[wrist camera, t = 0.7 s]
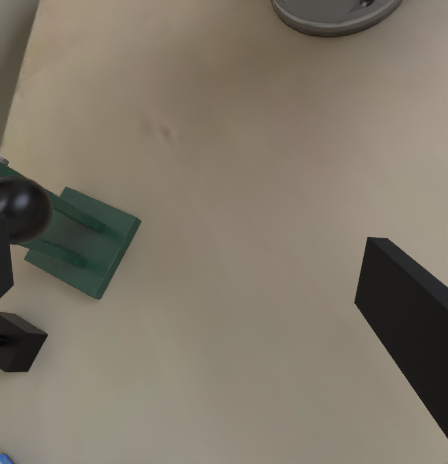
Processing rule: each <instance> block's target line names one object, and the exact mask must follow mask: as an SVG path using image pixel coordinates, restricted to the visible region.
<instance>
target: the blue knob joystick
mask: <svg viewBox="0 0 448 464" xmlns="http://www.w3.org/2000/svg"><path fill="white" fill-rule="evenodd" d="M46 337H47V334H46V333H44V332H43V331H41V330H39V329H38V328H36V327H35V326H33V325H31V324H30V323H28V322H27V321H25V320H23V319H22V318H20V317H19V316H17V315H16V314H12V313H5V312H0V369H1V370H3V371H4V372H28V370H29V368H30V367H31V365H32V363H33V361H34V359H35V357H36V356H37V354H38V352H39V350H40V348H41V346H42V345H43V343H44V341H45V339H46Z"/></svg>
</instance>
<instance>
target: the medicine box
mask: <svg viewBox="0 0 448 464" xmlns="http://www.w3.org/2000/svg"><path fill="white" fill-rule="evenodd" d="M0 464H12V462H11V461H10V460H9V458H8V457H7V455H6V454H1V455H0Z"/></svg>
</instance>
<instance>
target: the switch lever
mask: <svg viewBox="0 0 448 464" xmlns="http://www.w3.org/2000/svg"><path fill="white" fill-rule="evenodd" d="M0 215H7V225H8V234H9V244H12V245H19V244H25V243H28V242H31V241H33V240H35V239H37V238H38V237H40V236H41V235H42V234H43V233H44V232H45V231H46V230H47V228H48V227H49V225H50V223H51V220H52V215H53V207H52V202H51V199H50V197H49V195H48V194H47V192H46V191H45V190H44V189H43V188H42V186H40V185H39V184H38V183H36V182H35V181H33V180H31V179H28V178H25V177H21V176H5V177H1V178H0Z"/></svg>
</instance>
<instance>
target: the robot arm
mask: <svg viewBox="0 0 448 464" xmlns="http://www.w3.org/2000/svg"><path fill="white" fill-rule="evenodd" d="M271 1H272V4H273V7H274V9H275V11H276V13H277V15H278V16H279V17H280V18H281V19H282V20H283V21H284V22H285V23H286V24H287V25H289V26H290V27H292V28H294V29H296V30H298V31H300V32H303V33H307V34H311V35H317V36H339V35H346V34H350V33H354V32H357V31H360V30H363V29H366V28H368V27H370V26H372V25H374V24H376V23H378V22H379V21H381V20H383V19H384V18H385V17H387V16H388V15H389V14H391V13H392V12H393V11H394V10H395V9H396V8H397V7H398V6H399V5H400V4H401V2H402V1H403V0H271ZM13 285H14V282H13V272H12V263H11V253H10V244H9V234H8V225H7V215H0V298H1V297H2V296H3V295H4V294H5V293H6V292H7V291H8V290H9V289H10V288H11V287H12V286H13ZM354 303H355V304H356V306H357V307H358V309H359V310H360V312H361V313H362V315H363V316H364V317H365V319H366V320H367V322H368V323H369V325H370V326H371V328H372V329H373V331H374V332H375V333H376V335H377V336H378V338H379V339H380V341H381V342H382V344H383V345H384V347H385V348H386V349H387V351H388V352H389V354H390V355H391V357H392V358H393V360H394V361H395V363H396V364H397V366H398V367H399V368H400V370H401V371H402V373H403V374H404V376H405V377H406V379H407V380H408V382H409V383H410V384H411V386H412V387H413V389H414V390H415V392H416V393H417V395H418V396H419V398H420V399H421V400H422V402H423V403H424V405H425V406H426V408H427V409H428V411H429V412H430V414H431V415H432V416H433V418H434V419H435V421H436V422H437V424H438V425H439V427H440V428H441V430H442V431H443V432H444V434H445V435H446V437H447V438H448V287H446V286H445V285H444V284H443V283H442V282H440V281H439V280H438V279H437V278H435V277H434V276H433V275H432V274H431V273H429V272H428V271H427V270H426V269H424V268H423V267H422V266H421V265H420V264H418V263H417V262H416V261H415V260H413V259H412V258H411V257H410V256H409V255H407V254H406V253H405V252H404V251H402V250H401V249H400V248H399V247H398V246H396V245H395V244H394V243H393V242H391V241H390V240H389V239H388V238H375V237H367V242H366V247H365V252H364V257H363V262H362V267H361V272H360V277H359V282H358V287H357V292H356V297H355V302H354Z"/></svg>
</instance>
